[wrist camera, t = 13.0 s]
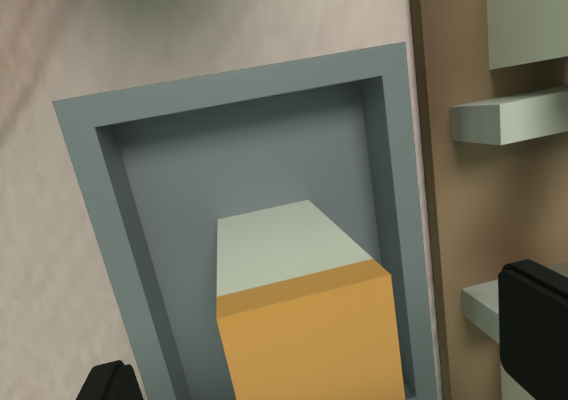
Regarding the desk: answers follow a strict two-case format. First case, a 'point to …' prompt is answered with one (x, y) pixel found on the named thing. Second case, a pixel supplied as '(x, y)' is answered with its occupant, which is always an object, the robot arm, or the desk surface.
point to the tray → (247, 196)
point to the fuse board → (485, 180)
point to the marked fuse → (304, 310)
